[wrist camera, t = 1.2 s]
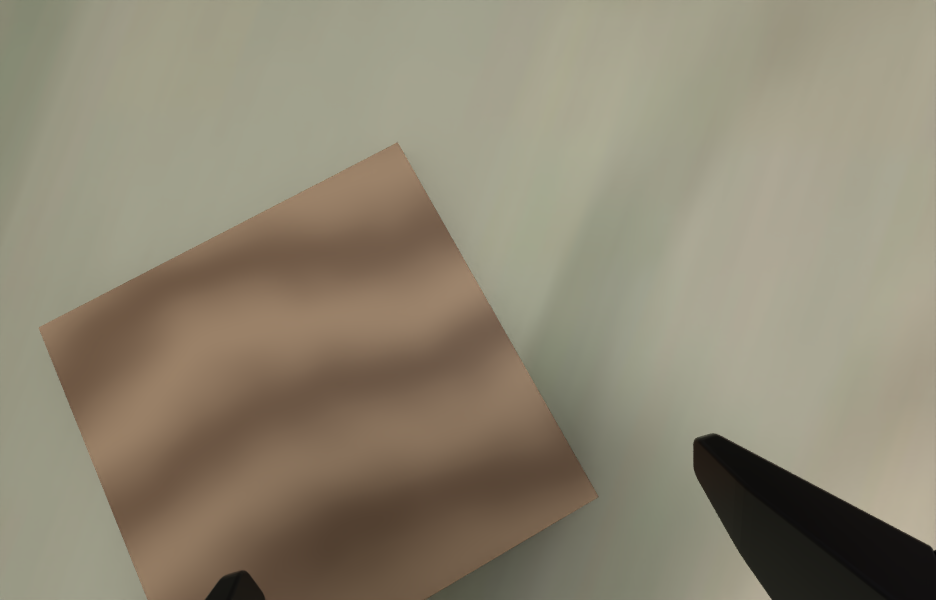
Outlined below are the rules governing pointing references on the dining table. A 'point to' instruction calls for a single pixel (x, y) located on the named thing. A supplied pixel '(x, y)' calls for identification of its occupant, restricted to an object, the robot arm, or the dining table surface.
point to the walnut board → (315, 404)
